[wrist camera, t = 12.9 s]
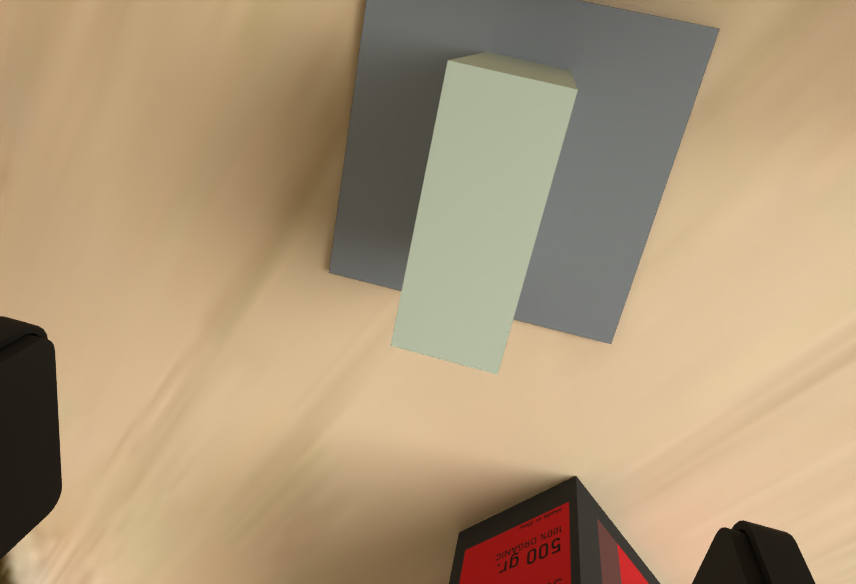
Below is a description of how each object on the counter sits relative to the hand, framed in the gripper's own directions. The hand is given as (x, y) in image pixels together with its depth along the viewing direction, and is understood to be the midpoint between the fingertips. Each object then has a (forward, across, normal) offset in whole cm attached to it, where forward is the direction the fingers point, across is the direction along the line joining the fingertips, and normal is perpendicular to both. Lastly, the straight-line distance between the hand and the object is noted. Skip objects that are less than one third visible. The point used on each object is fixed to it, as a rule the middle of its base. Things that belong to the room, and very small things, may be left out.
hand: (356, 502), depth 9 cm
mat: (+26, 0, 0) cm, 26 cm away
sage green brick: (+26, 0, 0) cm, 26 cm away
